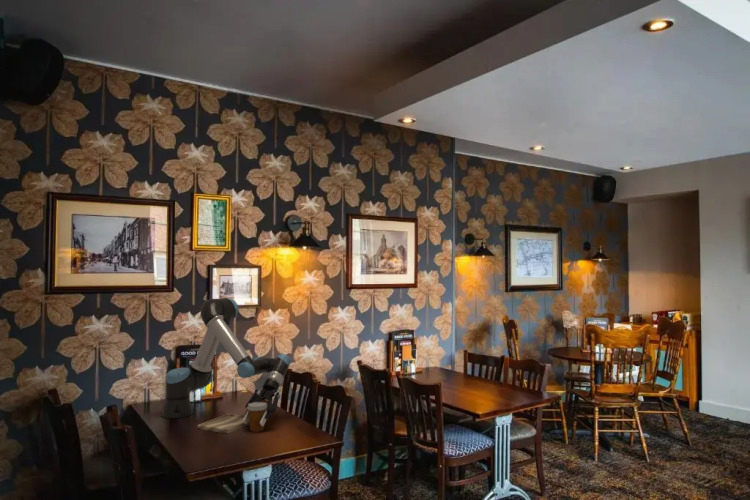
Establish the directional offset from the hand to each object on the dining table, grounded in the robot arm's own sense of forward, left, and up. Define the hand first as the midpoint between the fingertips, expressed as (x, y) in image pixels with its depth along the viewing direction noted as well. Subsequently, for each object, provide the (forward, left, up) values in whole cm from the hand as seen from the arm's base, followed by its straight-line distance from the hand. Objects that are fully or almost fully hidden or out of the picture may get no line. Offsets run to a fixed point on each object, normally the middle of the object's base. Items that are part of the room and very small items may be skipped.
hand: (253, 423), depth 239 cm
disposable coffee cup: (0, +3, -4) cm, 5 cm away
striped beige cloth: (-18, +4, -4) cm, 19 cm away
